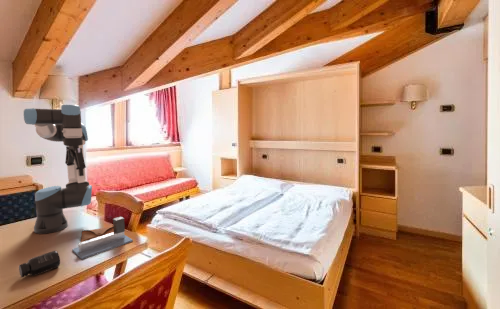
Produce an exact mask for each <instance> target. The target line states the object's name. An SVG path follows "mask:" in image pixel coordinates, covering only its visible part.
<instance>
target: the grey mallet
mask: <svg viewBox="0 0 500 309" xmlns="http://www.w3.org/2000/svg"><path fill="white" fill-rule="evenodd" d="M112 224H113V225H112V227H113V229H114V232H113V233H110V234H107V235H103V236H100V237H97V238H94V239H90V240H87V241H84V242H81V241H80V242H81V243H80V242H79V243H77V245H78V246H77V247H78V248H79V252H80V253H83V252H86V251H89V250H92V249H95V248H98V247H100V246H103V245H106V244H109V243H112V242H115V241H118V240H121V239H124V238H125V235H126V234H125V232H126V230H125V229H126V228H125V227H126V226H125V218H124V217H123V216H118V217H114V218H112Z"/></svg>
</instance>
